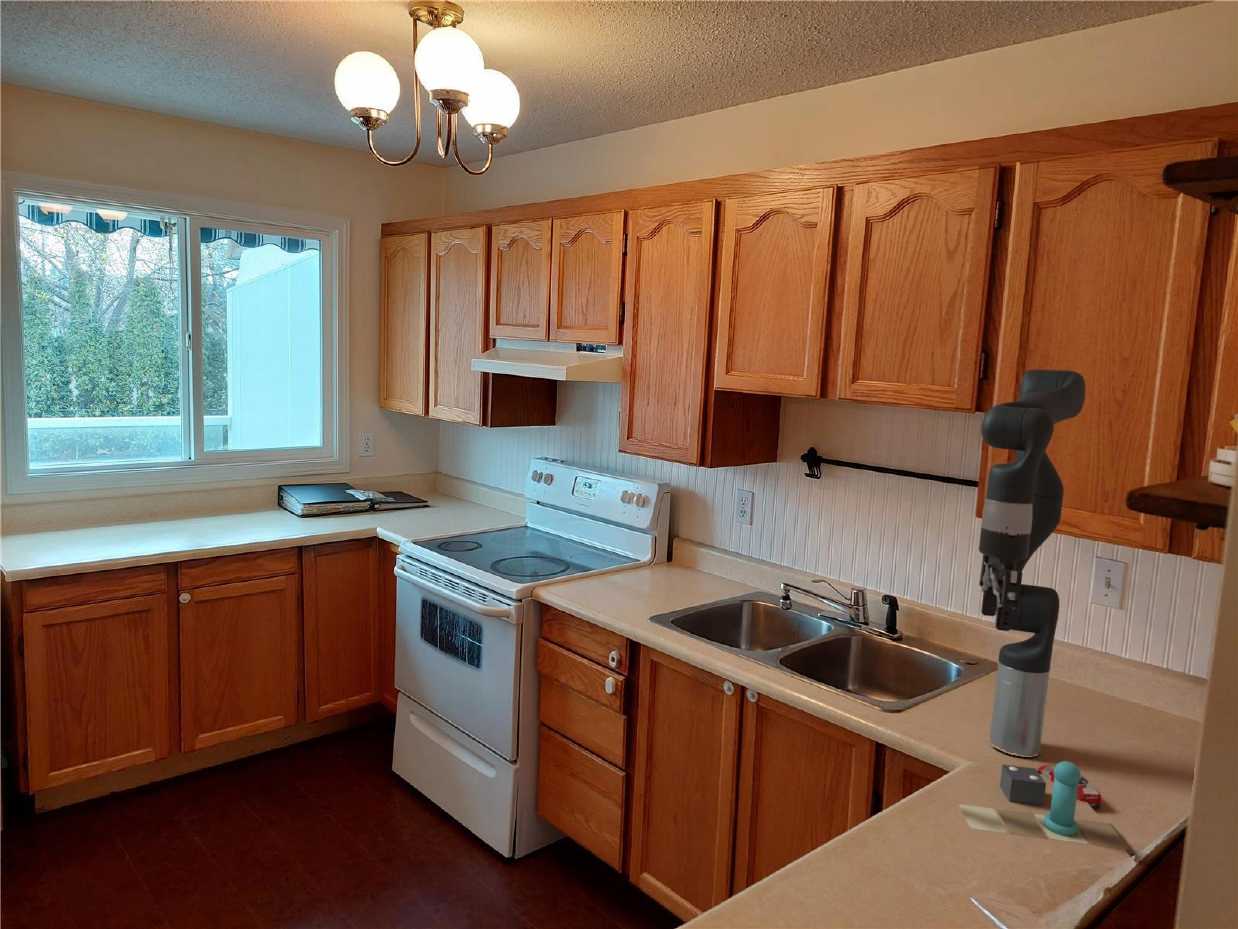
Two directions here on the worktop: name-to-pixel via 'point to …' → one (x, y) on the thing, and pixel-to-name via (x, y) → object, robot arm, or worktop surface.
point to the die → (1022, 785)
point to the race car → (1084, 787)
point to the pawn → (1063, 800)
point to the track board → (1029, 827)
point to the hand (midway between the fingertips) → (995, 622)
